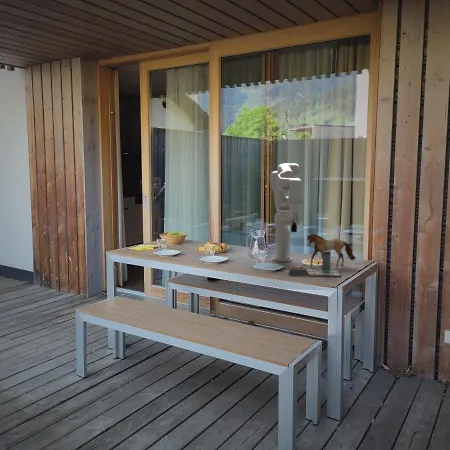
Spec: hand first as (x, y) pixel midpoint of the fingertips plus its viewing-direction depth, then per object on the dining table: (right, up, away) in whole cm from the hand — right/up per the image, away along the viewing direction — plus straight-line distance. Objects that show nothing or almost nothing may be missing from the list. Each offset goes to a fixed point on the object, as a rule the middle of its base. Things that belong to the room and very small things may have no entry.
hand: (293, 231), depth 273 cm
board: (+16, -24, -5) cm, 29 cm away
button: (+1, -22, -5) cm, 23 cm away
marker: (+18, -23, -5) cm, 30 cm away
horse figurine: (+24, -22, +11) cm, 35 cm away
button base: (+1, -24, -5) cm, 24 cm away
